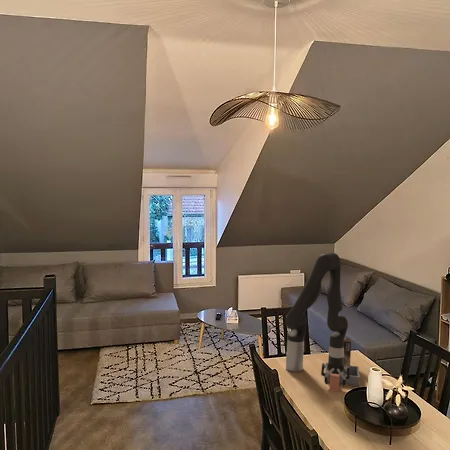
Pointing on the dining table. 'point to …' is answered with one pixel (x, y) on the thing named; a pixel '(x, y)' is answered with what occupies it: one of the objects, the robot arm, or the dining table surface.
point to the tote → (353, 378)
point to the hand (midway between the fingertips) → (334, 384)
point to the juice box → (334, 382)
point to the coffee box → (347, 351)
